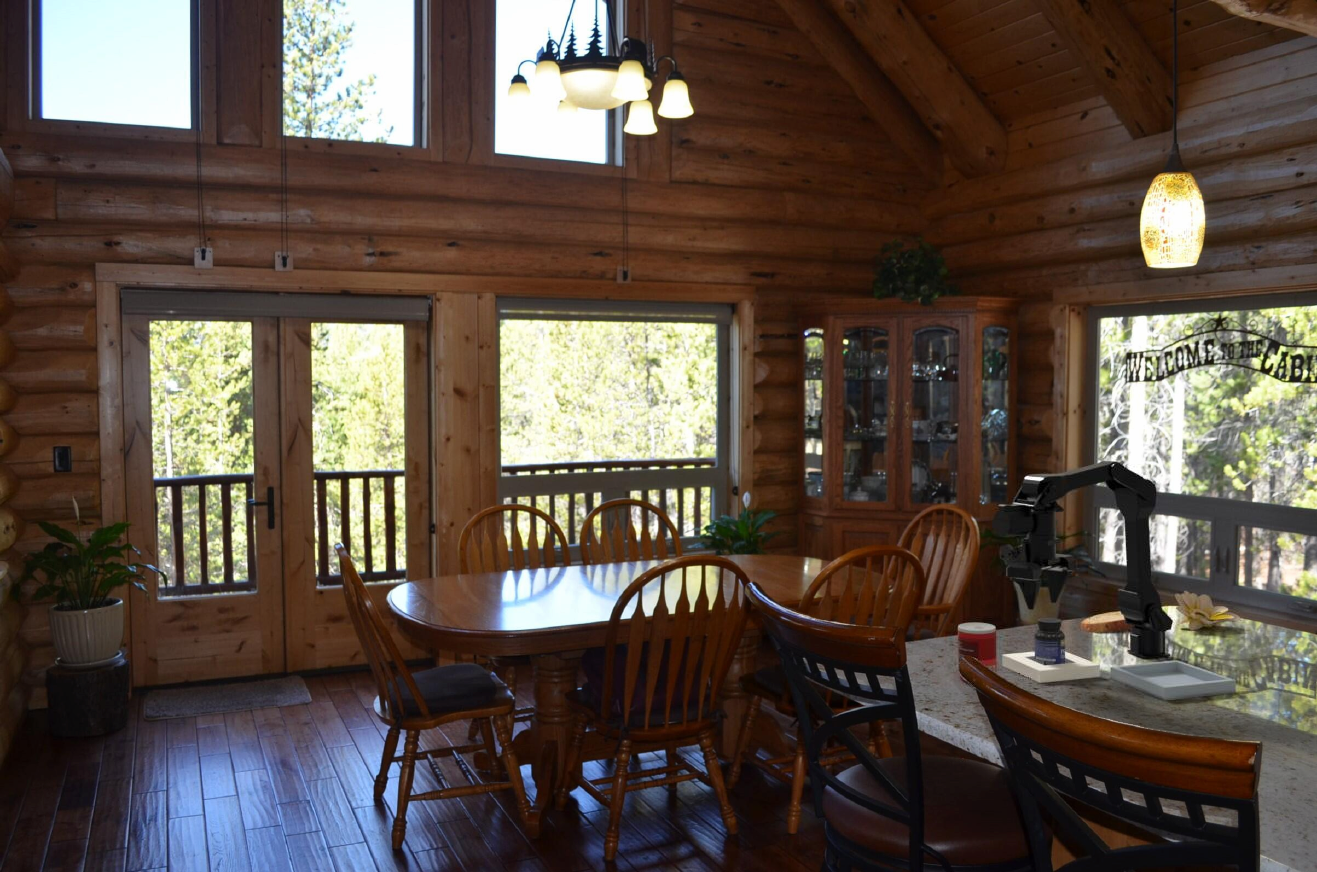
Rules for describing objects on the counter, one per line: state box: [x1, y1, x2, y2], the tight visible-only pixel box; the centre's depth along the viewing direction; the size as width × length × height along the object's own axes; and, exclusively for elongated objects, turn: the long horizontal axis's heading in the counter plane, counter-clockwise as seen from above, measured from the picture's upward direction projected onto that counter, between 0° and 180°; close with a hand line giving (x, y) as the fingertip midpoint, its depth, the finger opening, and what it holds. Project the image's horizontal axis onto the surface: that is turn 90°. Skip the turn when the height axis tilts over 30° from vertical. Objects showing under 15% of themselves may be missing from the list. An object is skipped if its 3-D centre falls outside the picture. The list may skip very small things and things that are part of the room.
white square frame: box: [1001, 651, 1101, 684], centre depth 222 cm, size 14×14×2 cm
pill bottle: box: [1033, 617, 1066, 666], centre depth 221 cm, size 6×6×11 cm
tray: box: [1109, 659, 1237, 701], centre depth 209 cm, size 16×16×2 cm
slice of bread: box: [1080, 610, 1133, 634], centre depth 261 cm, size 18×18×4 cm
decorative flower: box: [1174, 590, 1243, 632], centre depth 255 cm, size 15×11×10 cm
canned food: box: [957, 622, 998, 682], centre depth 218 cm, size 8×8×11 cm
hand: (1042, 606), depth 223 cm, fingers open, 9 cm apart
